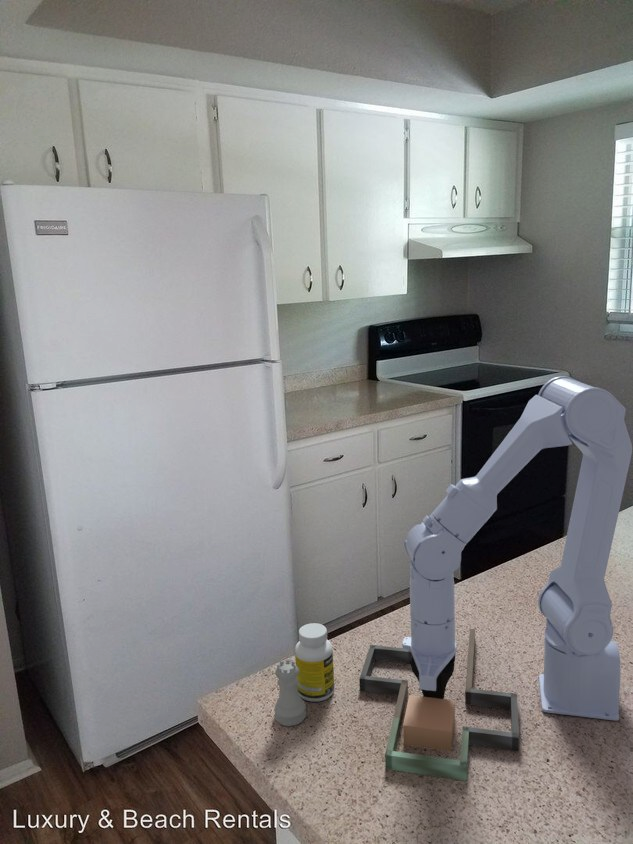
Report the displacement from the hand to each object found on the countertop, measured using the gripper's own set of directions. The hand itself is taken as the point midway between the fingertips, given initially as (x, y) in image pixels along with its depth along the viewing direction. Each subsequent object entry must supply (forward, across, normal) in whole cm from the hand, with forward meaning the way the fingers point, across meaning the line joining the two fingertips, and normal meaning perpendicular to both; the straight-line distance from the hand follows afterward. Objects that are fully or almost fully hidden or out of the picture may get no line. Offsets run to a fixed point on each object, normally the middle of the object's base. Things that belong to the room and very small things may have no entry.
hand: (434, 704), depth 88 cm
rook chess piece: (+1, +5, -19) cm, 20 cm away
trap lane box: (+1, -4, 0) cm, 4 cm away
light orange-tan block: (+1, +4, 0) cm, 4 cm away
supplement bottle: (+1, -1, -17) cm, 17 cm away
